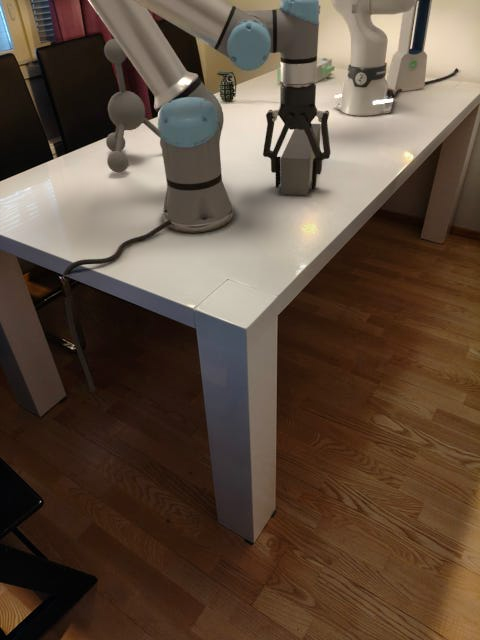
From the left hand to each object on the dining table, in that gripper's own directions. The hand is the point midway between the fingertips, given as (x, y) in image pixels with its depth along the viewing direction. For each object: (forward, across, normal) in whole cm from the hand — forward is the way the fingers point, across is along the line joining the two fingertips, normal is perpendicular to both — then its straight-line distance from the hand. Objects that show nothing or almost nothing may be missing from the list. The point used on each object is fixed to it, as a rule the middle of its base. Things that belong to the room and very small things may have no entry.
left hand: (295, 186), depth 117 cm
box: (+1, 0, -10) cm, 10 cm away
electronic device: (+1, -28, -99) cm, 103 cm away
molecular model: (+1, +46, -16) cm, 49 cm away
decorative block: (+1, +12, -115) cm, 116 cm away
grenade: (+1, +37, -78) cm, 86 cm away
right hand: (-31, -4, -35) cm, 47 cm away
